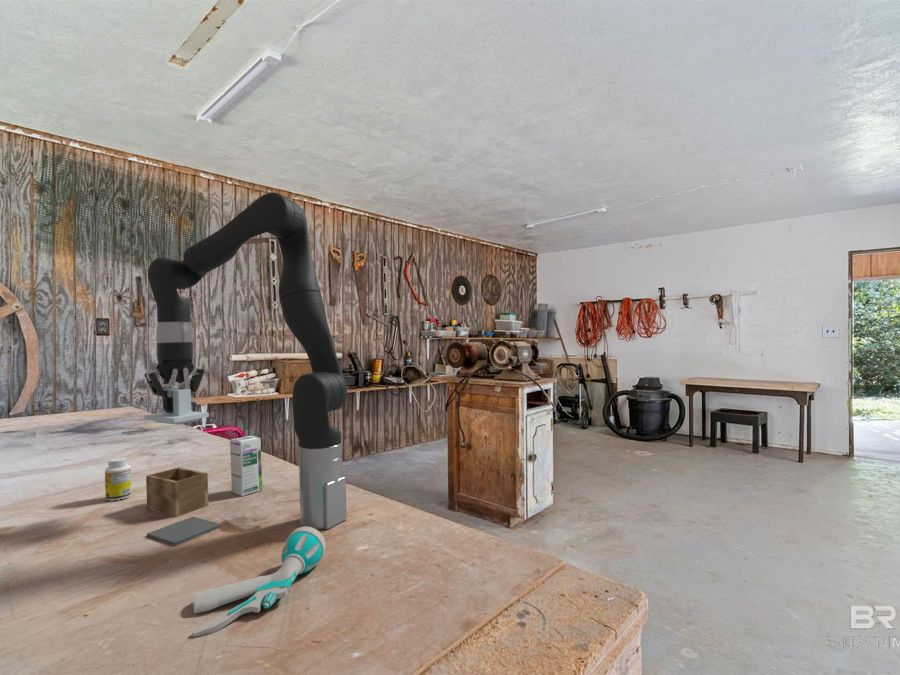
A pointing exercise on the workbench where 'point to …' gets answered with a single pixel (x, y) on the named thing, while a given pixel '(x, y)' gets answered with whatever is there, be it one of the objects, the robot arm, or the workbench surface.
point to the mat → (183, 530)
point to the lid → (178, 410)
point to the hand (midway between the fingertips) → (176, 411)
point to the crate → (177, 491)
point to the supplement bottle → (118, 479)
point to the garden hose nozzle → (263, 581)
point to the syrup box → (246, 465)
